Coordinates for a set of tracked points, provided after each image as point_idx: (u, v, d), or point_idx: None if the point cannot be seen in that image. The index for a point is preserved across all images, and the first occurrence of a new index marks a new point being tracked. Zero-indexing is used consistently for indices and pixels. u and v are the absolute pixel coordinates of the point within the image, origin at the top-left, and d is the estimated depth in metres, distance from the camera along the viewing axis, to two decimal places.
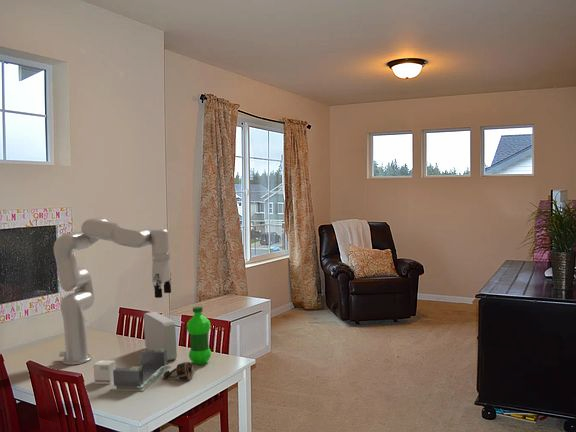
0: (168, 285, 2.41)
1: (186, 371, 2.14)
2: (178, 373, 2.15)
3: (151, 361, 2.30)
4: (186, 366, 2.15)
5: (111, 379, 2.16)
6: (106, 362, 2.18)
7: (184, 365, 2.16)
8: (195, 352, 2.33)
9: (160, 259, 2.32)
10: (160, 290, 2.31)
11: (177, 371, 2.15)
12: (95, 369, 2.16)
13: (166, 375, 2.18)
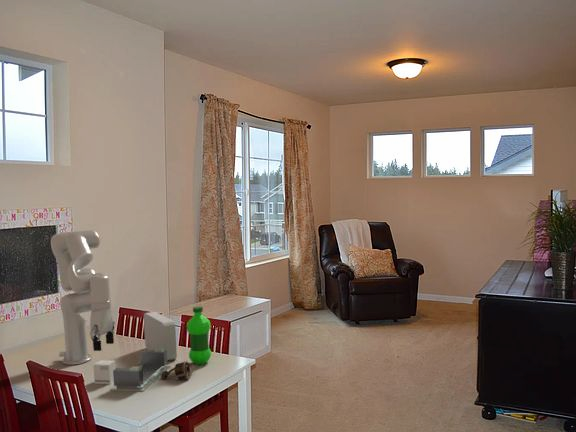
0: (110, 336, 2.21)
1: (185, 371, 2.15)
2: (176, 373, 2.16)
3: (151, 361, 2.30)
4: (184, 366, 2.16)
5: (111, 379, 2.16)
6: (106, 362, 2.18)
7: (182, 365, 2.16)
8: (195, 352, 2.33)
9: (99, 308, 2.13)
10: (99, 343, 2.12)
11: (175, 371, 2.16)
12: (95, 369, 2.16)
13: (164, 375, 2.18)
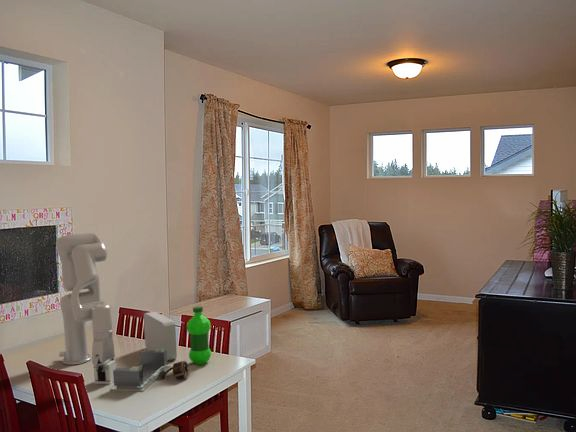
0: None
1: (183, 370, 2.16)
2: (175, 372, 2.16)
3: (151, 361, 2.30)
4: (183, 365, 2.17)
5: (111, 379, 2.16)
6: None
7: (181, 364, 2.17)
8: (195, 352, 2.33)
9: (101, 338, 2.14)
10: (103, 373, 2.15)
11: (174, 370, 2.16)
12: (95, 369, 2.16)
13: (162, 375, 2.19)
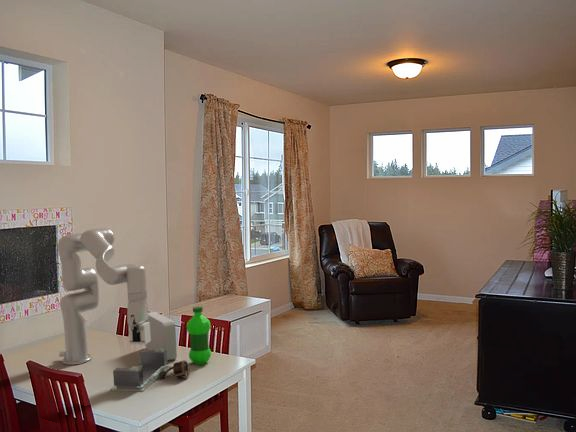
0: None
1: (184, 369, 2.16)
2: (175, 372, 2.16)
3: (151, 361, 2.30)
4: (183, 365, 2.17)
5: (146, 340, 2.17)
6: (141, 323, 2.19)
7: (181, 364, 2.17)
8: (195, 352, 2.33)
9: (136, 299, 2.15)
10: (138, 334, 2.16)
11: (174, 370, 2.17)
12: (130, 330, 2.17)
13: (162, 375, 2.19)
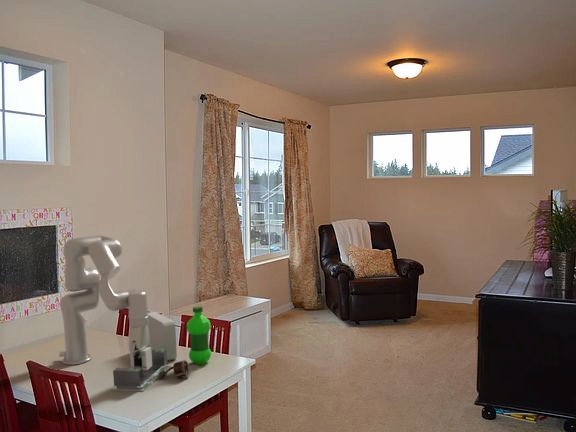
0: None
1: (184, 369, 2.16)
2: (176, 372, 2.17)
3: None
4: (183, 364, 2.17)
5: (147, 365, 2.18)
6: None
7: (181, 364, 2.17)
8: (195, 352, 2.33)
9: (137, 325, 2.15)
10: (140, 359, 2.17)
11: (174, 370, 2.17)
12: (131, 355, 2.18)
13: (162, 375, 2.19)
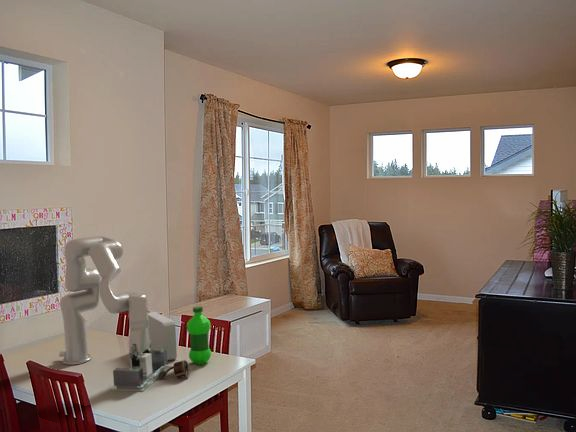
0: None
1: (184, 369, 2.17)
2: (176, 372, 2.17)
3: None
4: (184, 364, 2.18)
5: (147, 371, 2.18)
6: (142, 355, 2.20)
7: (181, 363, 2.18)
8: (195, 352, 2.33)
9: (138, 328, 2.15)
10: (137, 361, 2.15)
11: (175, 370, 2.17)
12: None
13: (162, 375, 2.19)
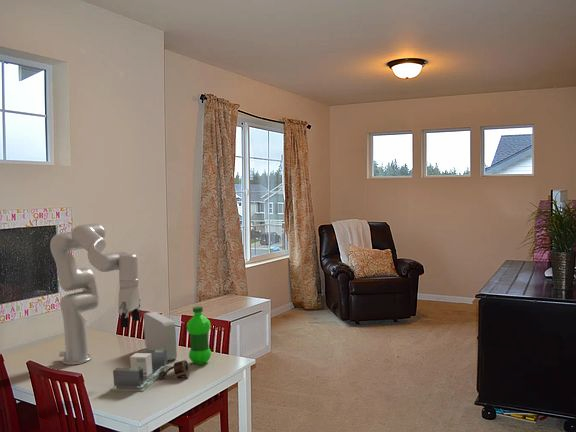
0: (136, 313, 2.27)
1: (184, 369, 2.17)
2: (176, 372, 2.17)
3: None
4: (184, 364, 2.18)
5: (147, 371, 2.18)
6: (142, 355, 2.20)
7: (182, 363, 2.18)
8: (195, 352, 2.33)
9: (127, 286, 2.18)
10: (126, 319, 2.17)
11: (175, 370, 2.17)
12: (132, 361, 2.18)
13: (162, 375, 2.19)
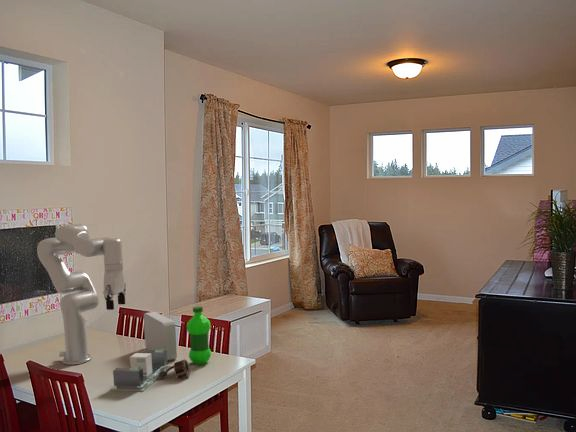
0: (122, 297, 2.33)
1: (185, 368, 2.17)
2: (177, 371, 2.17)
3: None
4: (184, 364, 2.18)
5: (147, 371, 2.18)
6: (142, 355, 2.20)
7: (182, 363, 2.18)
8: (195, 352, 2.33)
9: (112, 270, 2.24)
10: (112, 302, 2.23)
11: (175, 369, 2.17)
12: (132, 361, 2.18)
13: (163, 375, 2.19)
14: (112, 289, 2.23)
